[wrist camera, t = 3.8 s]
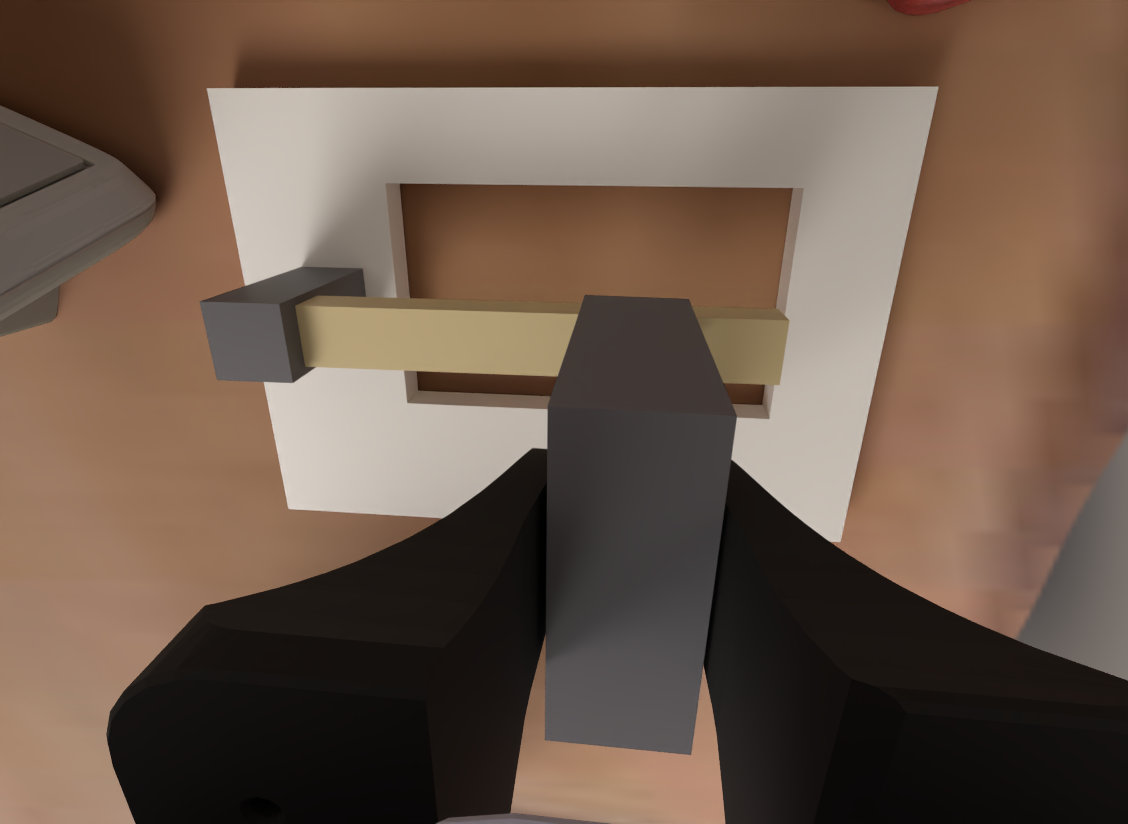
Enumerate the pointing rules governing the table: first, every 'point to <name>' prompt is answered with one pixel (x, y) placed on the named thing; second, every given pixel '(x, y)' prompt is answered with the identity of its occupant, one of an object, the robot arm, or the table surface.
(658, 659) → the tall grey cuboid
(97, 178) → the digital clock
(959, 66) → the table surface
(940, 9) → the stacking bear
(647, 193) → the table surface
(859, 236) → the white slotted board
